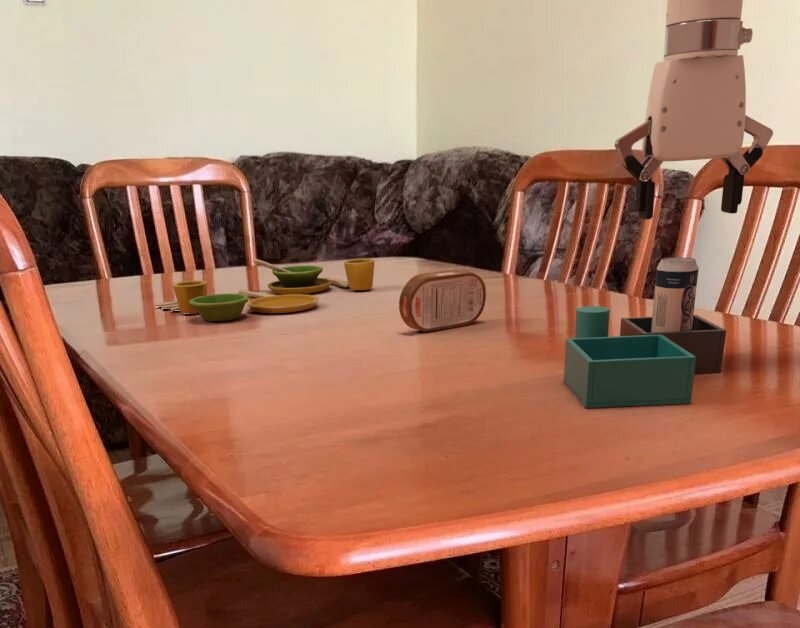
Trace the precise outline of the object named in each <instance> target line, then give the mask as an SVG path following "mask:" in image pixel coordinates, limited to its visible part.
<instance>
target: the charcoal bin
mask: <svg viewBox="0 0 800 628" xmlns="http://www.w3.org/2000/svg"><path fill="white" fill-rule="evenodd" d="M651 327H652V316H641V317H621V318H620V329H619V336H637V335H660V334H662V335H663V336H665V337H666V338H668V339H669V340H671V341H673V342H674V343H676V344H677V345H679V346H680V347H682V348H683V349H685V350H686V351H688V352H689V353H691V354H692V355H694V356H695V357H696V362H695V371H694V375H696V374H697V375H699V374H715V373H716V374H718V373H722V367H723V360H724V359H723V357H724V352H725V351H724V350H725V343H726V337H727V330H726V329H725V328H722V327H721V326H719V325H717V324H715V323H713V322H711V321H709V320H707V319H706V318H703V317H702V316H700V315H698V314H693V323H692V331H678V332H656V333H651Z"/></svg>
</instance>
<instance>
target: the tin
mask: <svg viewBox="0 0 800 628" xmlns="http://www.w3.org/2000/svg"><path fill="white" fill-rule="evenodd" d="M486 298H487V288H486V284H485V281H484V280H483V279H482V277H481V276H479V275H478V274H477V273H475V272H473V271H469V270H468V269H464V268H457V269H450V270H439V271H431V272H424V273H422V272H421V273H418V274H415V275H414V276H412V277H411V278H410V279H409V280H408V281H406V283H405V285H404V286H403V288H402V290H401V292H400V295H399V300H398V310H399V314H400V318H401V319H402V321H403V322H404V324H405V325H406V326H407V327H409V328H411V329H413V330H416V331H417V330H418V331H420V332H426V333H427V332H434V331H440V330H445V329H452V328H458V327H465V326H468V325H471V324H473V323H475V321H477V320H478V318H479V317H480V316H481V315H482V313H483V311H484V309H485V306H486V305H485V304H486V300H487V299H486Z"/></svg>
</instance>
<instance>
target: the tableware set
mask: <svg viewBox="0 0 800 628" xmlns="http://www.w3.org/2000/svg"><path fill="white" fill-rule="evenodd" d="M375 262H376V261H375V259H373V258H353V259H347V260H345V261H343V266H344V270H345V274H346V279H347V280H340V279H336V278H332V277H327V276H319V275H321V273H322V272H323V270H324V269H323V267H322V266H319V265H291V266H282V267H280V266H278V265H275V264H273V263H270V262H267V261H264V260H261V259H258V258H254V259H253V263H254V264H256V265H258V266H262V267H264V268H268V269H270V270H272V271H271V272H272V274H273V275H274V277H276V278H277V280H275V281H271V282H269V283H267V288H268V289H269V290H270V291H271V292H272V293H274V294H271V293H266V292H261V291H252V290H248V289H239V290H237V291H238V292H237V293H233V292H232V293H217V294H216V293H214V294H208V281H207V280H199V279H198V280H195V279H194V280H184V281H177V282H175V283H173V284H172V288H173V291H174V295H175V298H176V300H173V301H163V302H157V303H155V304H154V307H155V306H161V308H160V309H162V308H170V310H172V311H174V310H180V313H181V314H182V313H189V314H194V315H199V316H200V317H201V319H202V320H203V321H205V320H206V321H205V322H212V321H220V322H227V321H228V320H229V321H234V320H237V319H239V318H240V317H241V316H242V312H243V311H244V308H245V305H246V306H247V307H249V308H250V309H251V310H252V311H253V312H257V313H262V314H285V313H296V312H302V311H307V310H309V309H312V308H315V306H316V305H317V303H318V302H319V300H320V298H319V297H318V296H316V295H313V294H314V293H319V292H324V291H326V290H328V289H329V287H330V285H337V287H341V288H348V287H349V289H350V290H352V291H366V290H370V289H372V288H373V285H374V273H375ZM275 294H276V295H275ZM250 297H251V298H254V299H251V300H249V299H250ZM171 304H173V305H171ZM165 305H166V306H165ZM170 310H169V311H170ZM197 313H199V314H197Z"/></svg>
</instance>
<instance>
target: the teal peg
mask: <svg viewBox="0 0 800 628" xmlns="http://www.w3.org/2000/svg"><path fill="white" fill-rule="evenodd" d="M610 312H611V309H610V308H609V307H606V306H599V305H597V306H595V305H591V306H590V305H588V306H580V307H577V308H576V309H575V322H574V323H575V325H574V338H592V337H609V326H610V325H609V324H610V314H611V313H610Z"/></svg>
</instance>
